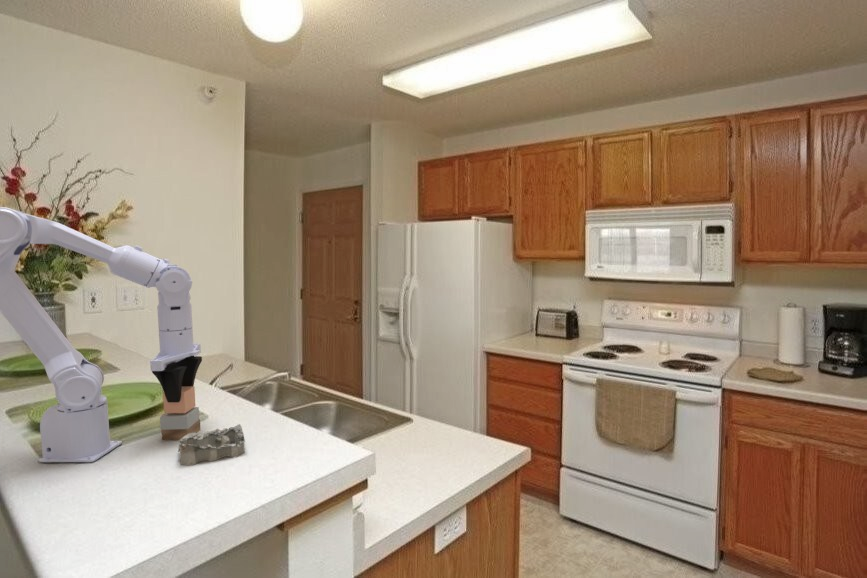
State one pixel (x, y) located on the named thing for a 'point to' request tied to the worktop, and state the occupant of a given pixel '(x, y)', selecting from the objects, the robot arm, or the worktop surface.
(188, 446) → the egg carton
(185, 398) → the terracotta cube
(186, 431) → the tower base
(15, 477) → the worktop surface
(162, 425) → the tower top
